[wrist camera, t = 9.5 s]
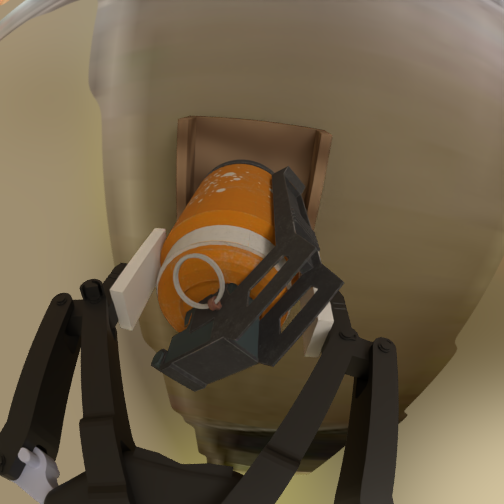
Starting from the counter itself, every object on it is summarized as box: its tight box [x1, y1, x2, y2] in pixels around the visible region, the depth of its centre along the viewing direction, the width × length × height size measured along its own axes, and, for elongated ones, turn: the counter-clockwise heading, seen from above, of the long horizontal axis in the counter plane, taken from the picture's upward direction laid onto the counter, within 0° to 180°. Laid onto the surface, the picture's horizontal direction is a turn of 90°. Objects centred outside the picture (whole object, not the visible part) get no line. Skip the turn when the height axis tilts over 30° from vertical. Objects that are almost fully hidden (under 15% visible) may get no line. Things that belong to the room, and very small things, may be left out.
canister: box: [151, 160, 344, 392], centre depth 20 cm, size 9×11×20 cm
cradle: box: [176, 116, 332, 279], centre depth 29 cm, size 16×14×4 cm
